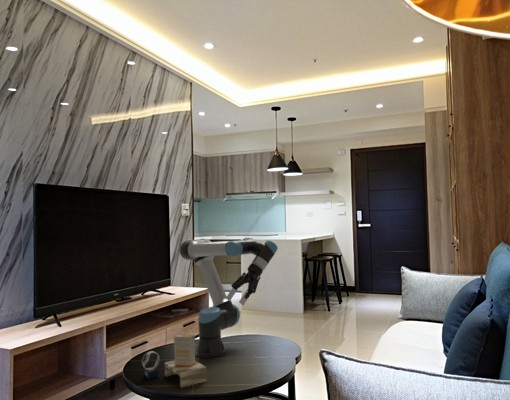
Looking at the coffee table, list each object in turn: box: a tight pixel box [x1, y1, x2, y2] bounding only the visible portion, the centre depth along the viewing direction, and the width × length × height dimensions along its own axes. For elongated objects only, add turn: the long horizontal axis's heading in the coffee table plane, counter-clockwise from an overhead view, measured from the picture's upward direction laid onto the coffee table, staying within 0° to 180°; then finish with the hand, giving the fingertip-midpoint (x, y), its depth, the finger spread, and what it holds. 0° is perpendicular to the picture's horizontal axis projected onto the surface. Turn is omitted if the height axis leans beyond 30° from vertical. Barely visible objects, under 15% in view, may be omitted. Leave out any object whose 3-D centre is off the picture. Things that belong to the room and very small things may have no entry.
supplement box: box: [173, 333, 196, 367], centre depth 180 cm, size 8×5×13 cm, turn 72°
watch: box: [141, 350, 161, 380], centre depth 184 cm, size 6×8×11 cm
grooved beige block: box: [164, 359, 208, 389], centre depth 180 cm, size 18×12×6 cm, turn 36°
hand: (234, 301), depth 197 cm, fingers open, 13 cm apart
